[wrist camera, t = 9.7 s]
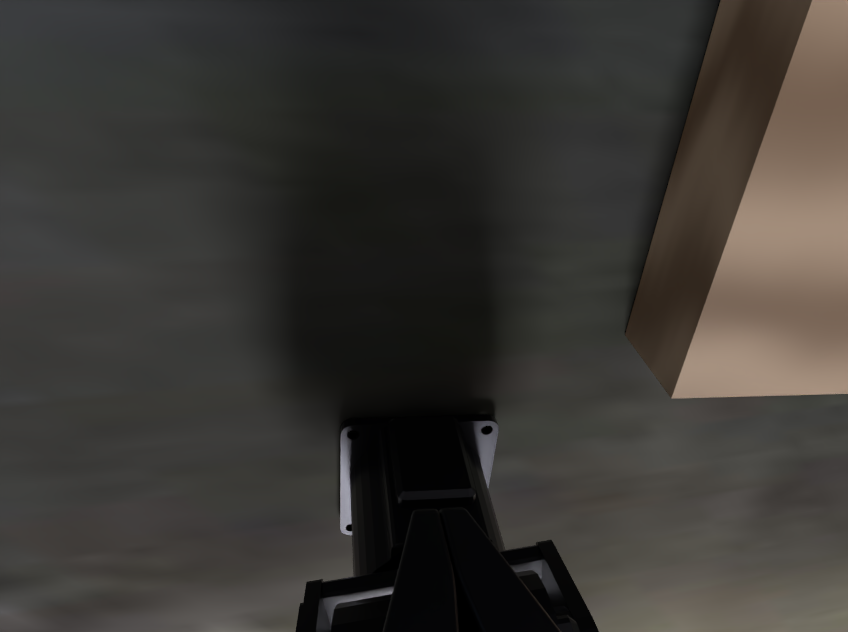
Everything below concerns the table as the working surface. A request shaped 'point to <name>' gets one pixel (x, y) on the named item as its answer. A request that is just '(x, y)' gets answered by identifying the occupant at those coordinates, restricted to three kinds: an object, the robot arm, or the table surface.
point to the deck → (756, 214)
